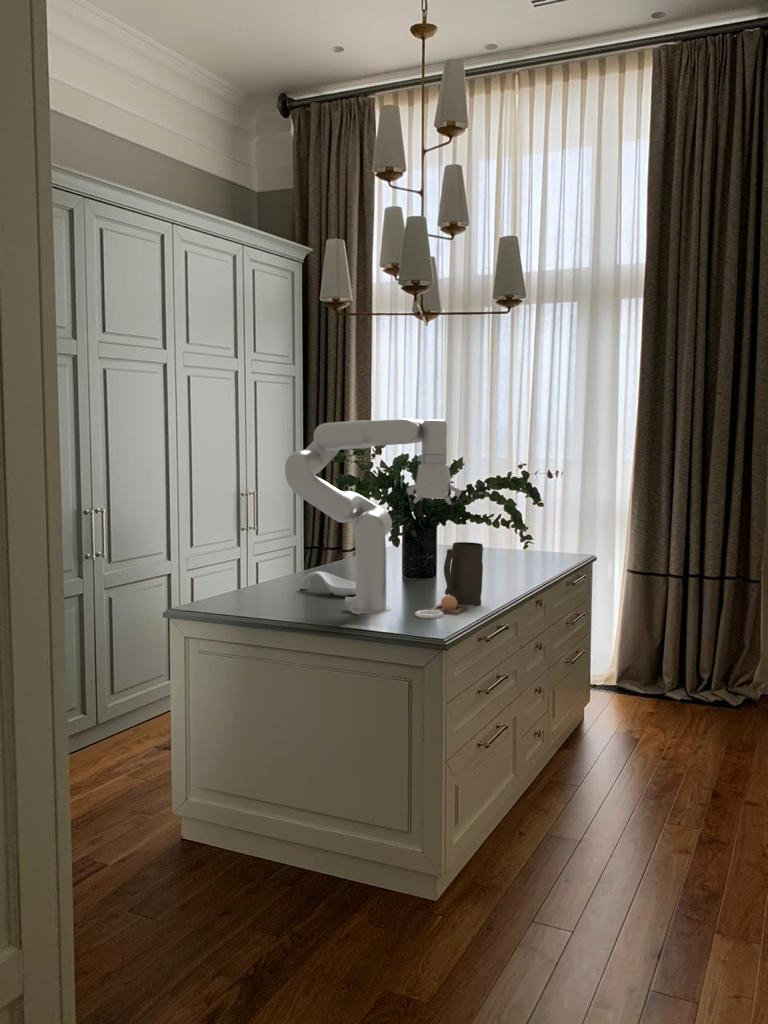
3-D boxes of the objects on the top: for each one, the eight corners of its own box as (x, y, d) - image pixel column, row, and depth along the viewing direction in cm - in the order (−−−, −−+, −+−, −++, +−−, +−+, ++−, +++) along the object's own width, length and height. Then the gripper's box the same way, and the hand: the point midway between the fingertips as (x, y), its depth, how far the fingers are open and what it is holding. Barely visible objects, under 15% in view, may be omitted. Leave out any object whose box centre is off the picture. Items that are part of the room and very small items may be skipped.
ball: (438, 611, 282) (439, 595, 282) (443, 608, 287) (444, 593, 286) (453, 613, 280) (454, 597, 280) (459, 610, 285) (459, 595, 284)
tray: (430, 615, 281) (430, 609, 281) (440, 610, 289) (440, 603, 289) (457, 618, 278) (458, 611, 277) (467, 612, 286) (467, 606, 286)
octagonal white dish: (412, 620, 274) (412, 613, 274) (421, 615, 282) (421, 608, 282) (437, 622, 271) (437, 616, 271) (446, 617, 279) (446, 611, 278)
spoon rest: (368, 594, 318) (368, 573, 317) (349, 599, 308) (349, 578, 307) (312, 587, 330) (312, 568, 329) (292, 592, 320) (292, 572, 319)
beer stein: (461, 599, 307) (462, 540, 306) (488, 603, 301) (489, 542, 299) (434, 606, 296) (435, 544, 294) (462, 610, 289) (462, 547, 287)
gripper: (402, 460, 277) (402, 516, 279) (457, 461, 271) (456, 519, 272) (412, 459, 284) (411, 514, 286) (465, 460, 277) (464, 516, 279)
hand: (433, 516), depth 279 cm, fingers open, 9 cm apart
